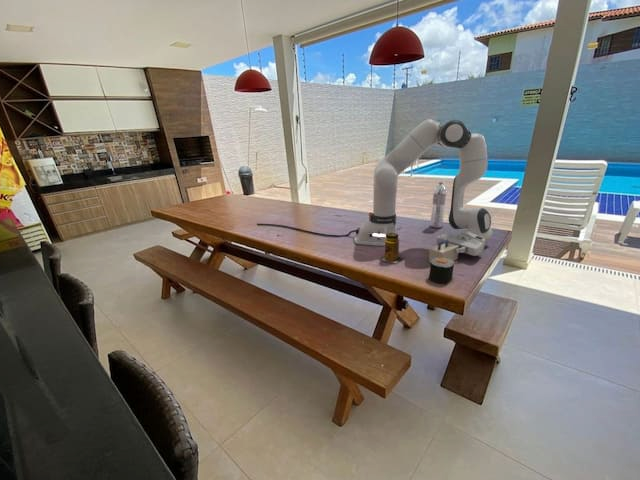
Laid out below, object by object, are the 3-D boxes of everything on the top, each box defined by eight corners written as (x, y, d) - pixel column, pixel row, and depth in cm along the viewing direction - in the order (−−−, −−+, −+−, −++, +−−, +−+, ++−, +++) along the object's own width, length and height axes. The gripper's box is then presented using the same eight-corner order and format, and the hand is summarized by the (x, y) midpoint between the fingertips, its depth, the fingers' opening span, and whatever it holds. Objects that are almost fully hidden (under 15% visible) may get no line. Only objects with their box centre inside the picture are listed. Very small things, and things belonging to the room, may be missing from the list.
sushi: (446, 285, 116) (449, 266, 112) (425, 279, 121) (427, 261, 117) (455, 277, 121) (457, 259, 117) (434, 271, 126) (436, 254, 123)
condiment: (380, 260, 139) (381, 235, 134) (390, 253, 145) (391, 229, 140) (395, 263, 135) (396, 238, 130) (404, 257, 140) (405, 232, 135)
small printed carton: (440, 266, 130) (443, 245, 126) (428, 262, 135) (430, 241, 131) (458, 258, 136) (460, 238, 132) (445, 254, 141) (448, 235, 137)
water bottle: (443, 228, 173) (448, 183, 162) (430, 228, 174) (434, 183, 163) (441, 224, 179) (446, 181, 168) (429, 224, 180) (433, 181, 169)
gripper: (447, 229, 147) (429, 236, 141) (488, 240, 132) (469, 248, 125) (446, 241, 150) (427, 248, 143) (486, 253, 135) (467, 262, 128)
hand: (447, 248), depth 134 cm, fingers closed on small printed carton, 6 cm apart
